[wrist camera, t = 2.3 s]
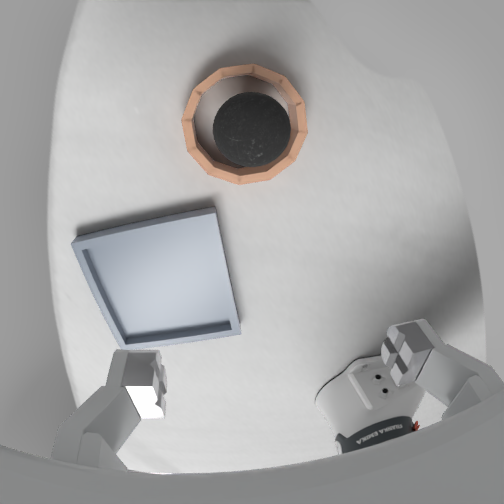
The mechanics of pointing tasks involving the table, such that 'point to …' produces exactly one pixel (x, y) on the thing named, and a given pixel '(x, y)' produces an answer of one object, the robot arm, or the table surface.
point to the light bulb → (251, 129)
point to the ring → (247, 173)
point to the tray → (161, 280)
